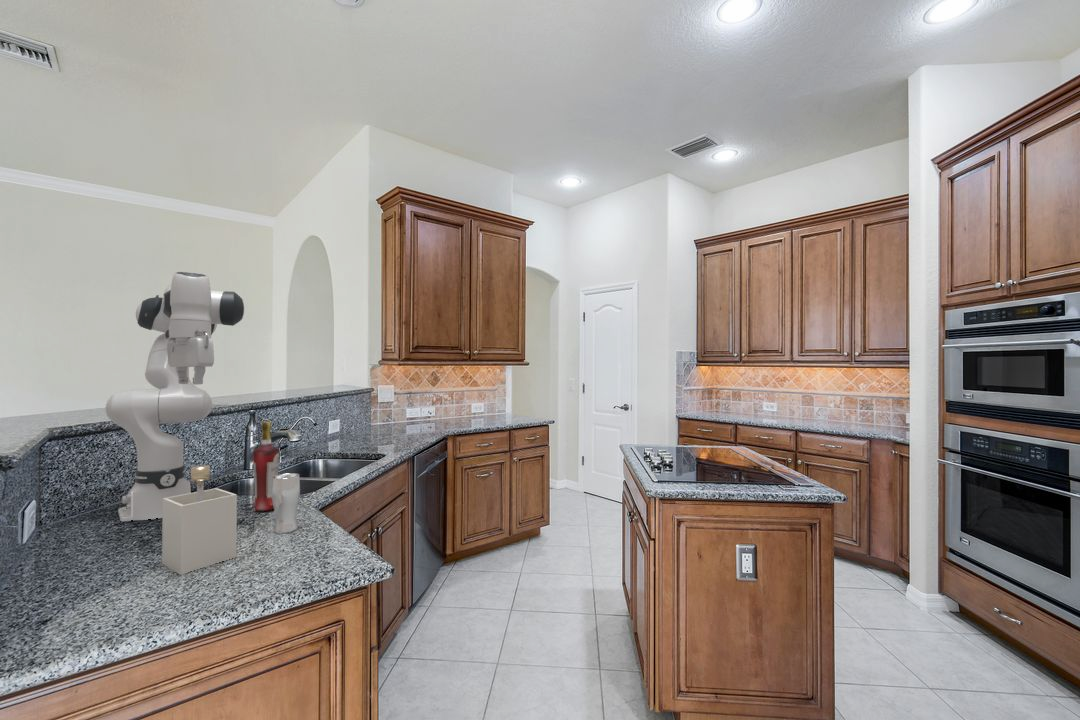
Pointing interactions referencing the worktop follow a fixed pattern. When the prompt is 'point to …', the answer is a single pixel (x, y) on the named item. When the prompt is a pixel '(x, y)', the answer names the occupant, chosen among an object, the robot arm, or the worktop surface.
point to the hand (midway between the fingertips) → (190, 384)
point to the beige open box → (199, 530)
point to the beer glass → (285, 501)
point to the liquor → (265, 470)
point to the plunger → (200, 478)
